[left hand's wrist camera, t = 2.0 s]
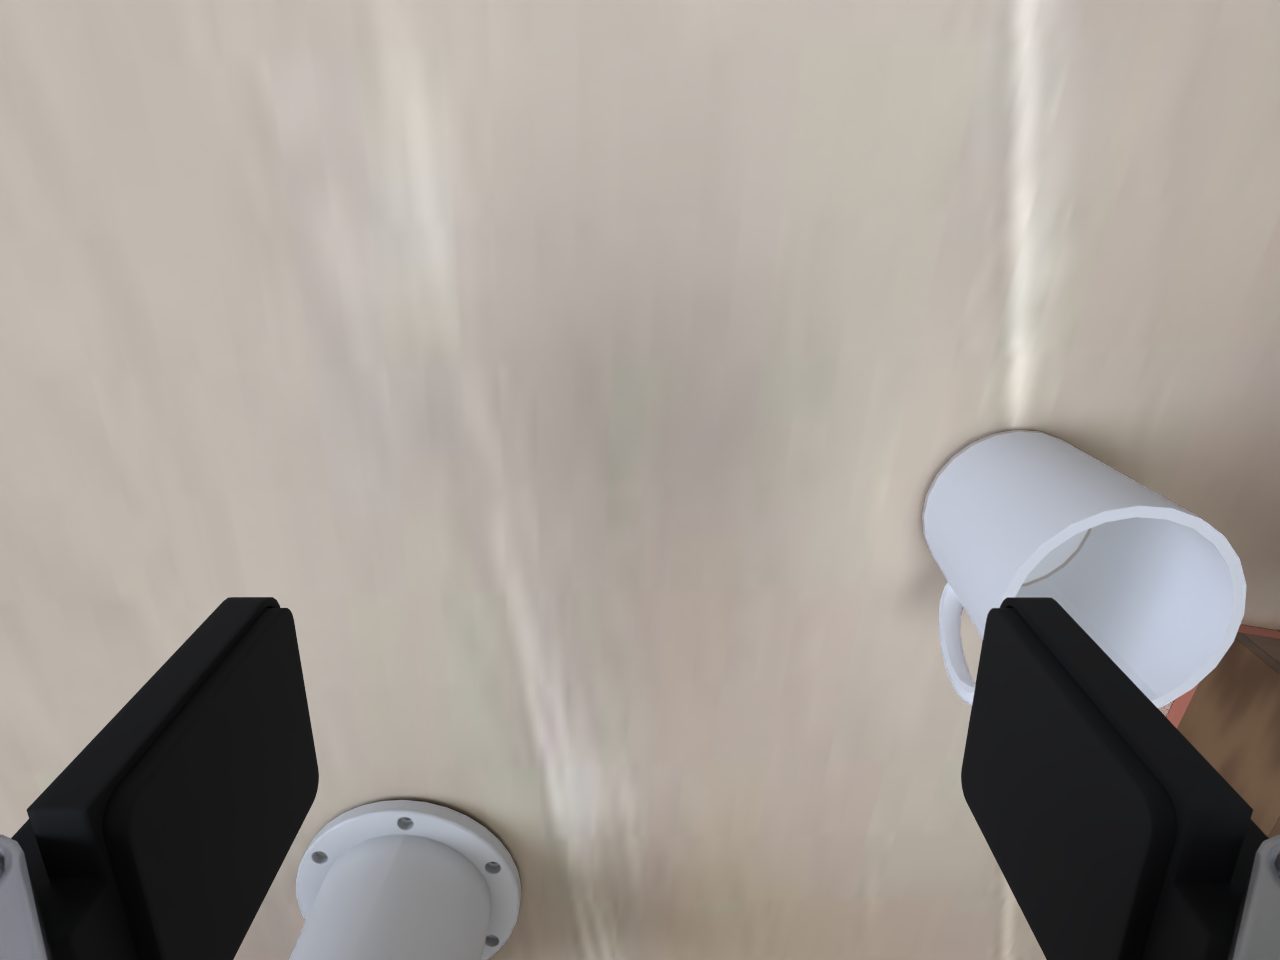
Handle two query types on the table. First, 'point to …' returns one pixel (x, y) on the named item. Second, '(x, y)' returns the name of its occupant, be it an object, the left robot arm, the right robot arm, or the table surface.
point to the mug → (1081, 559)
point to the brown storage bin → (1240, 721)
